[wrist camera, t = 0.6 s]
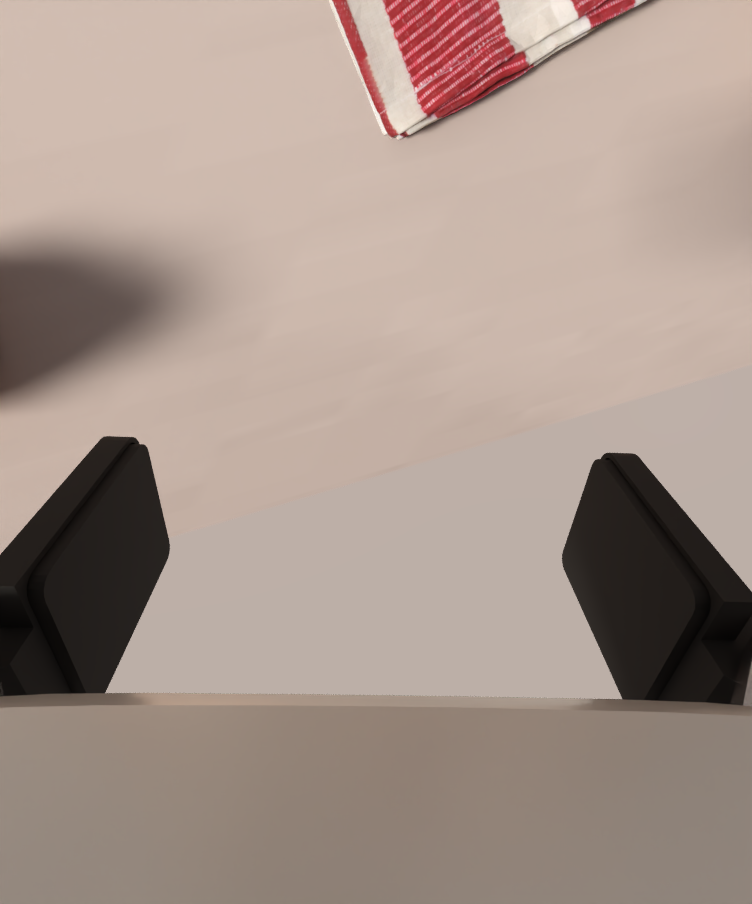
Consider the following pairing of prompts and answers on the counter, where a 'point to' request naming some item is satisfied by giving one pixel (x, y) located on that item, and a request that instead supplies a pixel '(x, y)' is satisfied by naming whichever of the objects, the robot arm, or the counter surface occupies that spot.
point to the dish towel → (455, 49)
